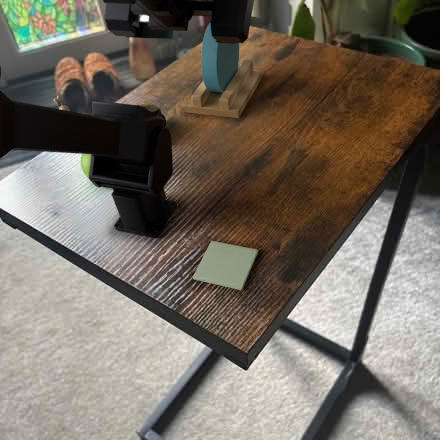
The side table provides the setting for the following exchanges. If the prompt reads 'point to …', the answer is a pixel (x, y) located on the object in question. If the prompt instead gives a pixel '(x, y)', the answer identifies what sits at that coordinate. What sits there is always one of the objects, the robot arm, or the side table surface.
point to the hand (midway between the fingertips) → (201, 36)
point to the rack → (227, 94)
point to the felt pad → (226, 265)
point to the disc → (218, 62)
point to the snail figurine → (85, 157)
